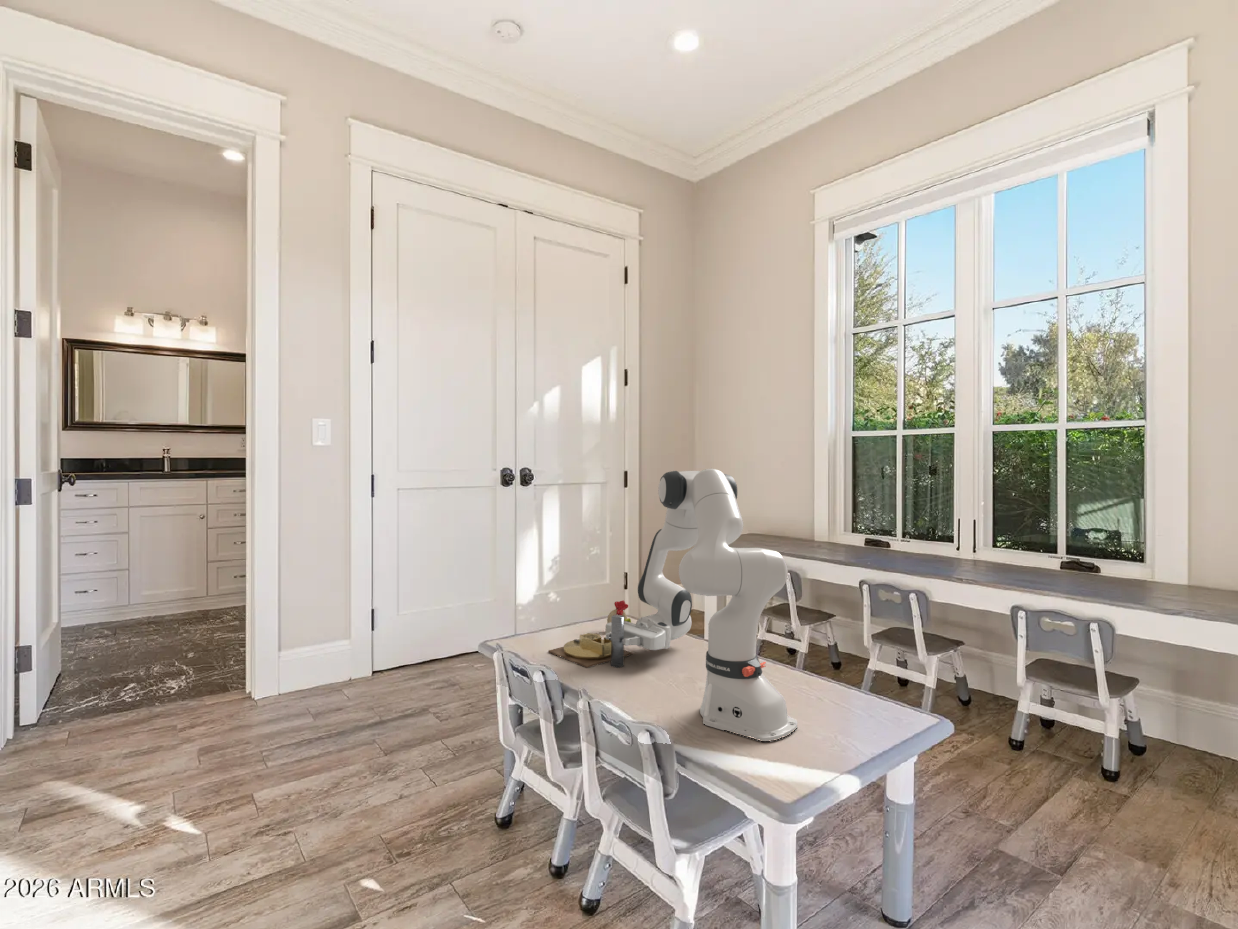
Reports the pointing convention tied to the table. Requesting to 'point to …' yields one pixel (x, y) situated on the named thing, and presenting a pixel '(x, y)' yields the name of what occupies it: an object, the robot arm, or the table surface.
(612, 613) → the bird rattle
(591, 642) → the gold round base
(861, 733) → the table surface
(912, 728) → the table surface
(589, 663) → the base plate
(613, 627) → the pin
